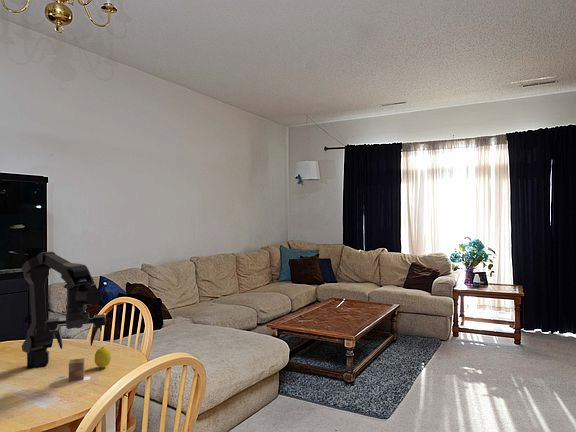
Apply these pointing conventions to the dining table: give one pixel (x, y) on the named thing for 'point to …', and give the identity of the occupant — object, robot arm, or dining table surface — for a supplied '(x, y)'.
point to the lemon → (102, 357)
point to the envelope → (64, 380)
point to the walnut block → (76, 369)
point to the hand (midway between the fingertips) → (76, 347)
